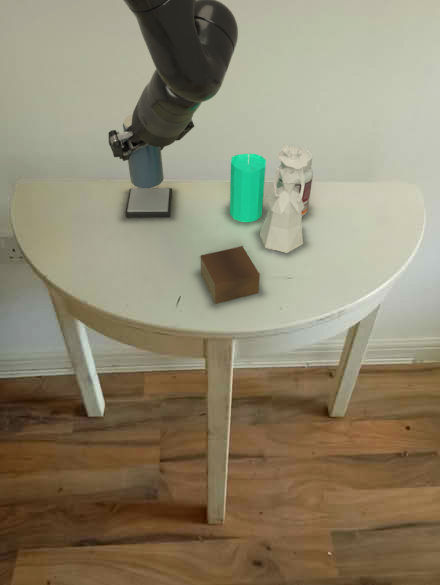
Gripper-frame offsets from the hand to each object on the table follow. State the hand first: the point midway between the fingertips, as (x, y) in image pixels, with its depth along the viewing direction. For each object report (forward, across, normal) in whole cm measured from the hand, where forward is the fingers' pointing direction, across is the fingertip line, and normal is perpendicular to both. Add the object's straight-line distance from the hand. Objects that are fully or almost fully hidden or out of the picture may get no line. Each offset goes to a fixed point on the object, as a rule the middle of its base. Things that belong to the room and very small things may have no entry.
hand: (140, 150), depth 87 cm
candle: (-1, -14, +16) cm, 22 cm away
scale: (+6, 0, +8) cm, 10 cm away
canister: (+2, 0, +5) cm, 5 cm away
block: (-12, -2, +27) cm, 29 cm away
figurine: (-8, -16, +23) cm, 29 cm away
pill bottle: (-4, -22, +19) cm, 29 cm away
